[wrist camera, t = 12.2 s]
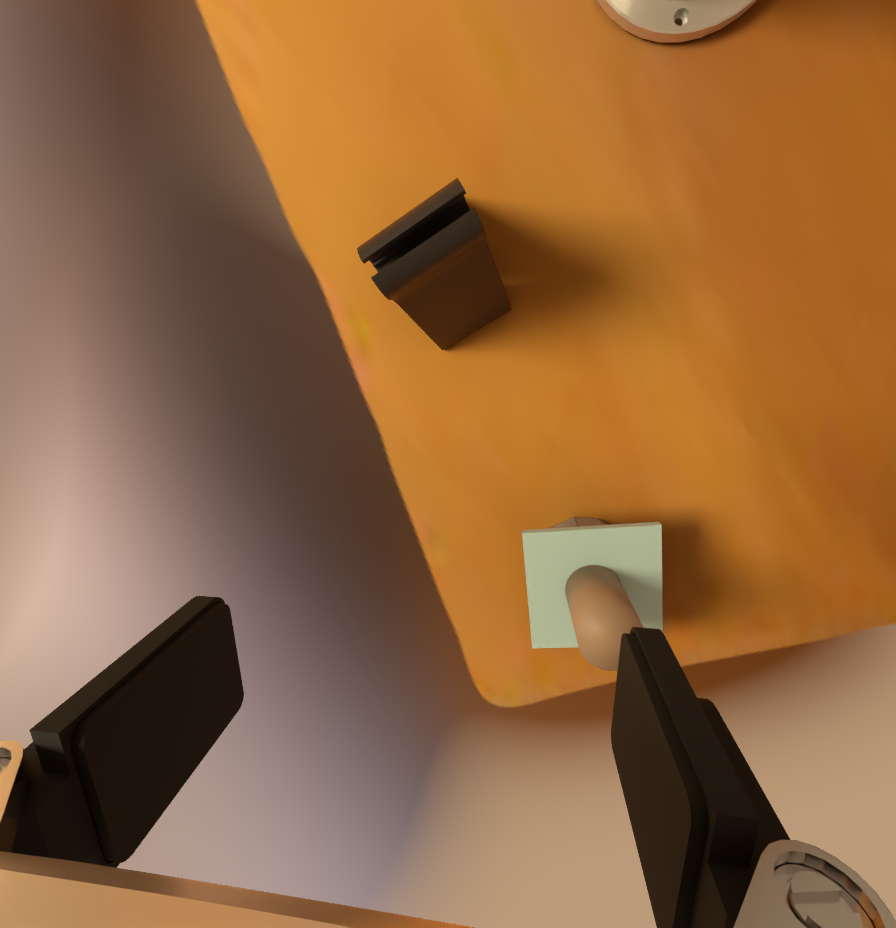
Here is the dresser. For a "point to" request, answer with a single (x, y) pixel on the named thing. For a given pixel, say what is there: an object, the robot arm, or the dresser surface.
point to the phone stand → (439, 267)
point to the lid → (593, 586)
